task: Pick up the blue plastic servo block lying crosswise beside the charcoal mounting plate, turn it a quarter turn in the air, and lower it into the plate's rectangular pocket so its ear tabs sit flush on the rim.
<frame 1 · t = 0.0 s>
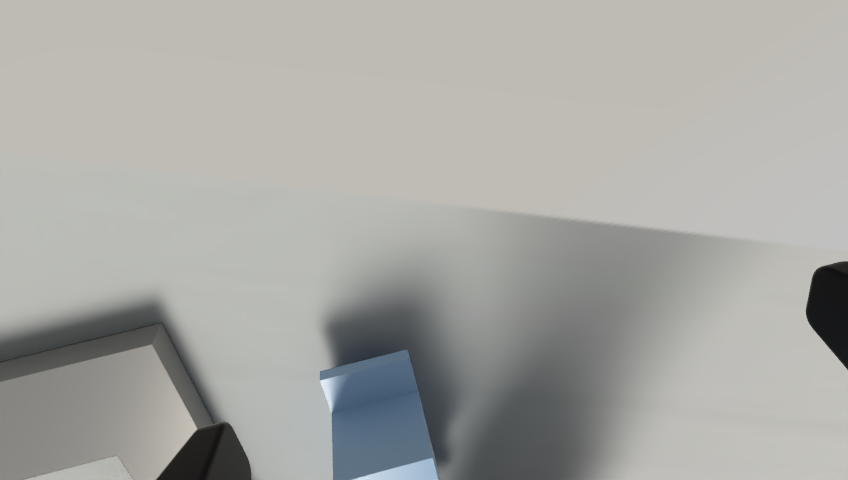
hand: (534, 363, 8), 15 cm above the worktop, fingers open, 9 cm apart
servo: (386, 420, 28), on the worktop
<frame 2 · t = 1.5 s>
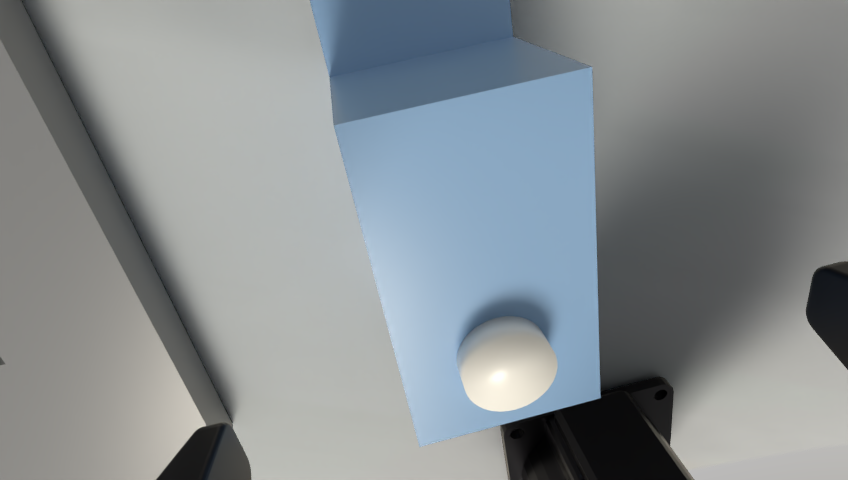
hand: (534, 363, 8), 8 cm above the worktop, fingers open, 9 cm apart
servo: (431, 173, 15), on the worktop
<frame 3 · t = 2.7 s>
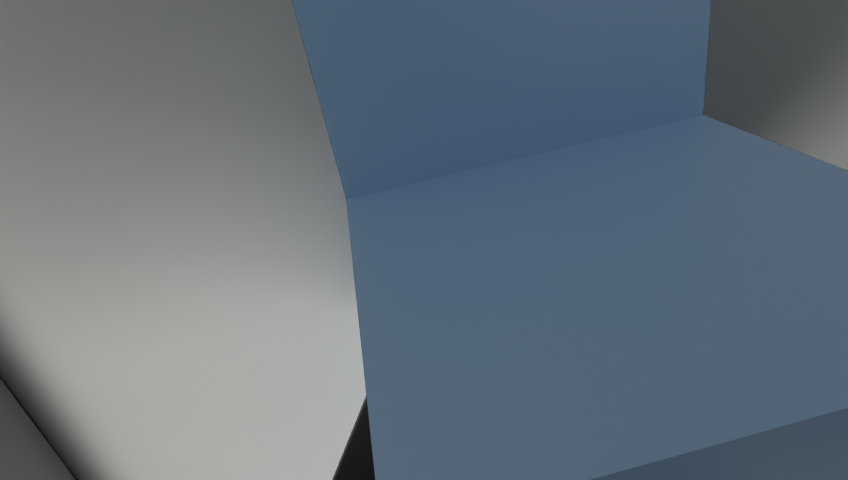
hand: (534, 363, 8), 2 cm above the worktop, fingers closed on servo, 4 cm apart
servo: (503, 304, 9), on the worktop, touching gripper
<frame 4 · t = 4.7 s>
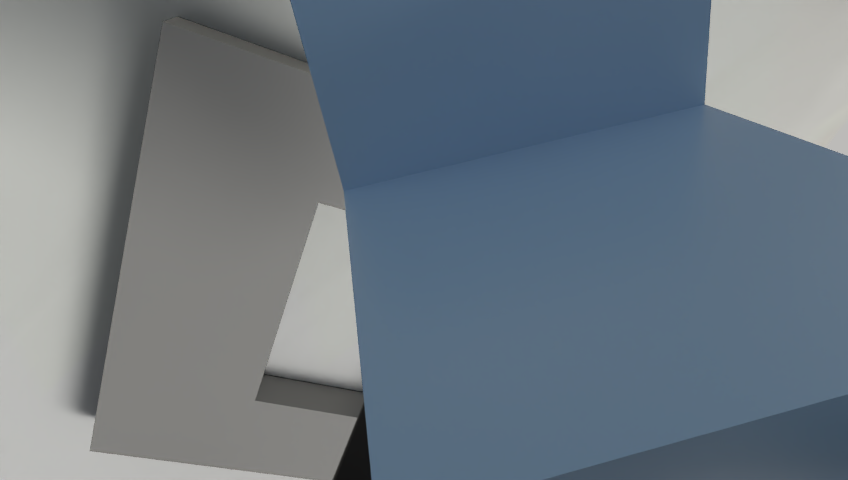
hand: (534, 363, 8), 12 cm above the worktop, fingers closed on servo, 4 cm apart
servo: (503, 300, 9), point 10 cm above the worktop, touching gripper
chassis: (357, 303, 21), on the worktop
when the fingers open (2 cm above the worktop, at t = 6.9 s): servo stays where it is, resting in chassis.
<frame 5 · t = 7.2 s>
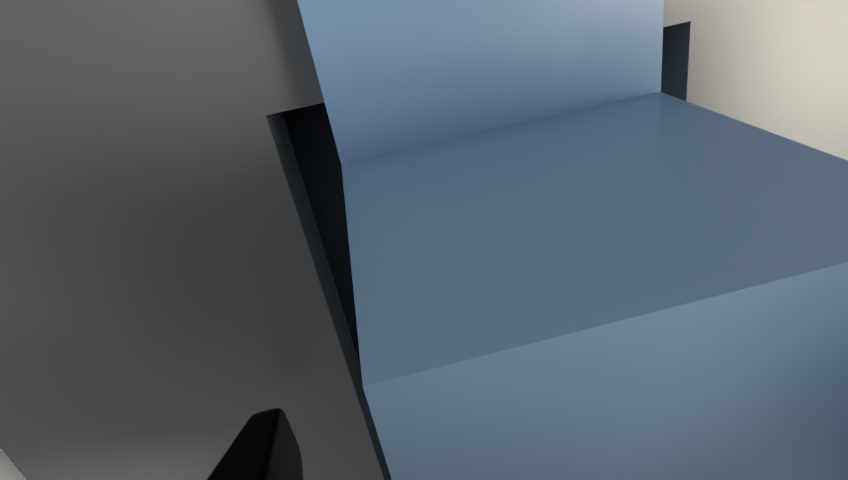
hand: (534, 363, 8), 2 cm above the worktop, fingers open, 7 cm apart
servo: (488, 276, 10), resting in chassis
chassis: (490, 285, 10), on the worktop
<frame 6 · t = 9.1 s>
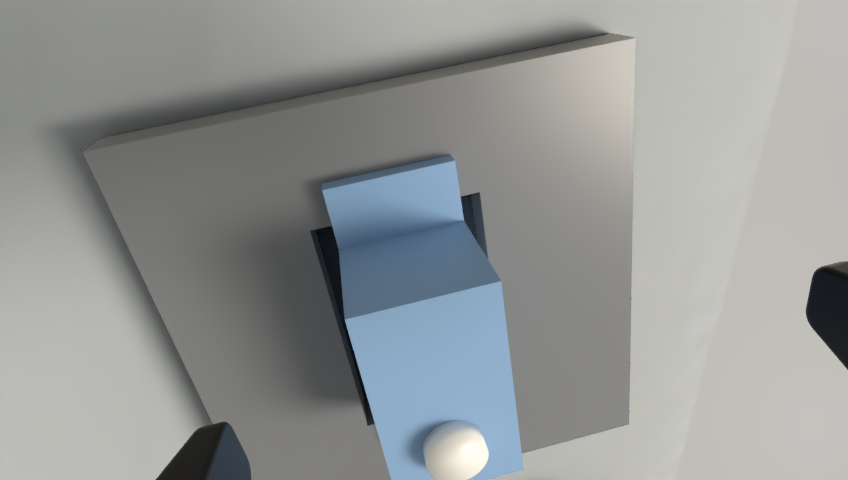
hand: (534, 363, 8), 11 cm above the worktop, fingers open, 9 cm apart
servo: (410, 291, 20), resting in chassis
chassis: (411, 297, 20), on the worktop
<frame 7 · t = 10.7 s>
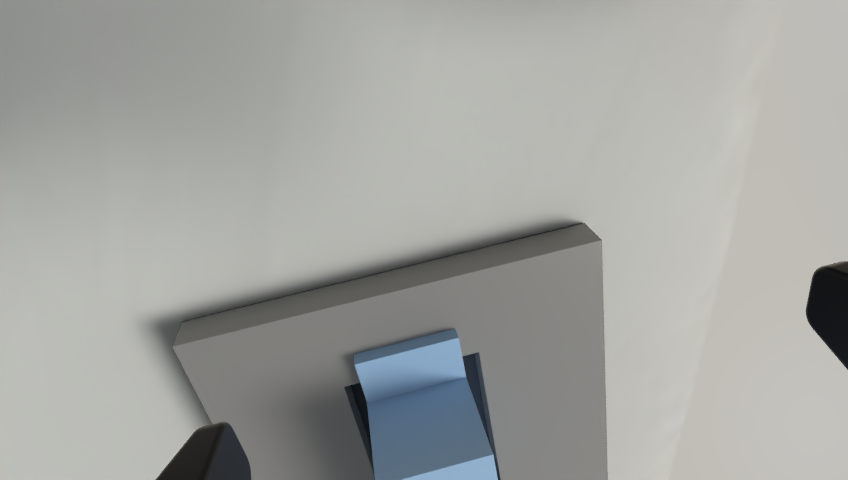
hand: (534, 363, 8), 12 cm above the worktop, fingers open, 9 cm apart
servo: (423, 412, 25), resting in chassis
chassis: (424, 417, 25), on the worktop
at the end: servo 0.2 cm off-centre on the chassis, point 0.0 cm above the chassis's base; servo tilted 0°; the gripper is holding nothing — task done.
